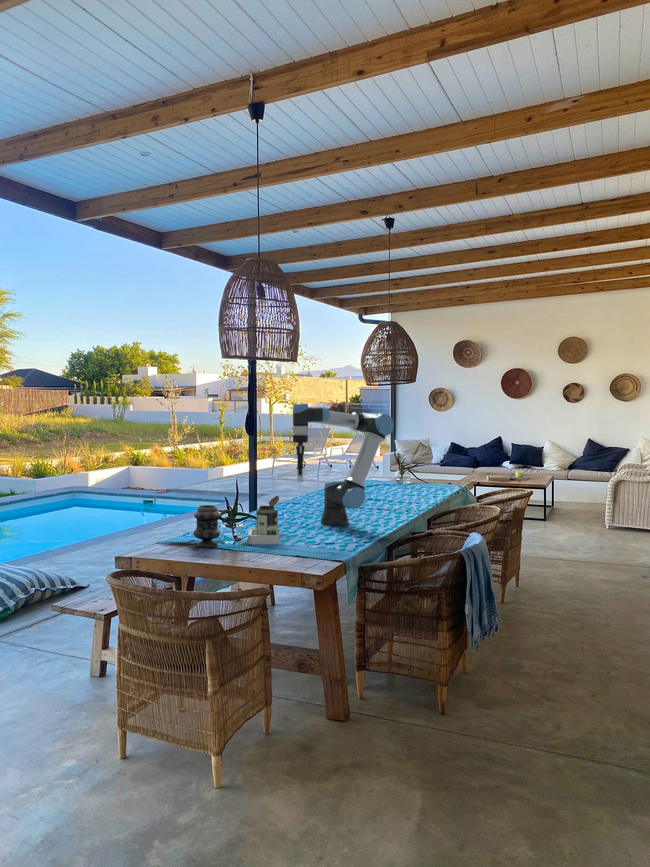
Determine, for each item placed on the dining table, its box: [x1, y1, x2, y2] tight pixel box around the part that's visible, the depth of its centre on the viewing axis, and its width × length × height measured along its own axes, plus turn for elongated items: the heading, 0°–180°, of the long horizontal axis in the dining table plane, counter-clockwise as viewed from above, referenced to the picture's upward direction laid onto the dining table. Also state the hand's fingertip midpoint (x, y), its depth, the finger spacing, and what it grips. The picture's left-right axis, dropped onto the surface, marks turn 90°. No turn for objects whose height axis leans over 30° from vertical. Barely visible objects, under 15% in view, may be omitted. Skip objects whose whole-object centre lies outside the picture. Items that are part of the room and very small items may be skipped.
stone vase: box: [193, 504, 221, 548], centre depth 283 cm, size 12×12×18 cm
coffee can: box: [255, 509, 279, 535], centre depth 295 cm, size 10×10×14 cm
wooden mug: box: [258, 495, 280, 510], centre depth 321 cm, size 9×14×18 cm, turn 50°
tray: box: [247, 527, 280, 545], centre depth 295 cm, size 14×16×4 cm
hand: (300, 481), depth 308 cm, fingers closed
